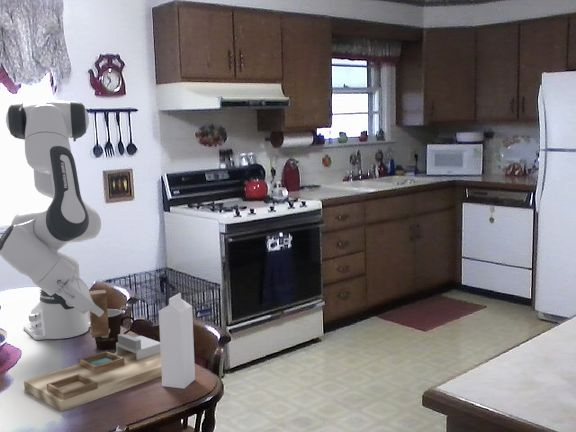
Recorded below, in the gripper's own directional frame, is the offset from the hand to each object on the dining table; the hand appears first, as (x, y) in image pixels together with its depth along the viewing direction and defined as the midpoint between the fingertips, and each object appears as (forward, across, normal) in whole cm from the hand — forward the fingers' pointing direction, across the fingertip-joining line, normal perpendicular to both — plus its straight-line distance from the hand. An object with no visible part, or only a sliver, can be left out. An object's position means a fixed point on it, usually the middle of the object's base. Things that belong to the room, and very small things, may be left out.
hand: (101, 311), depth 159 cm
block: (+4, 0, +5) cm, 6 cm away
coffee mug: (+14, +20, +9) cm, 27 cm away
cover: (+17, +5, +3) cm, 18 cm away
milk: (+23, -14, 0) cm, 27 cm away
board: (+12, -4, +12) cm, 17 cm away
